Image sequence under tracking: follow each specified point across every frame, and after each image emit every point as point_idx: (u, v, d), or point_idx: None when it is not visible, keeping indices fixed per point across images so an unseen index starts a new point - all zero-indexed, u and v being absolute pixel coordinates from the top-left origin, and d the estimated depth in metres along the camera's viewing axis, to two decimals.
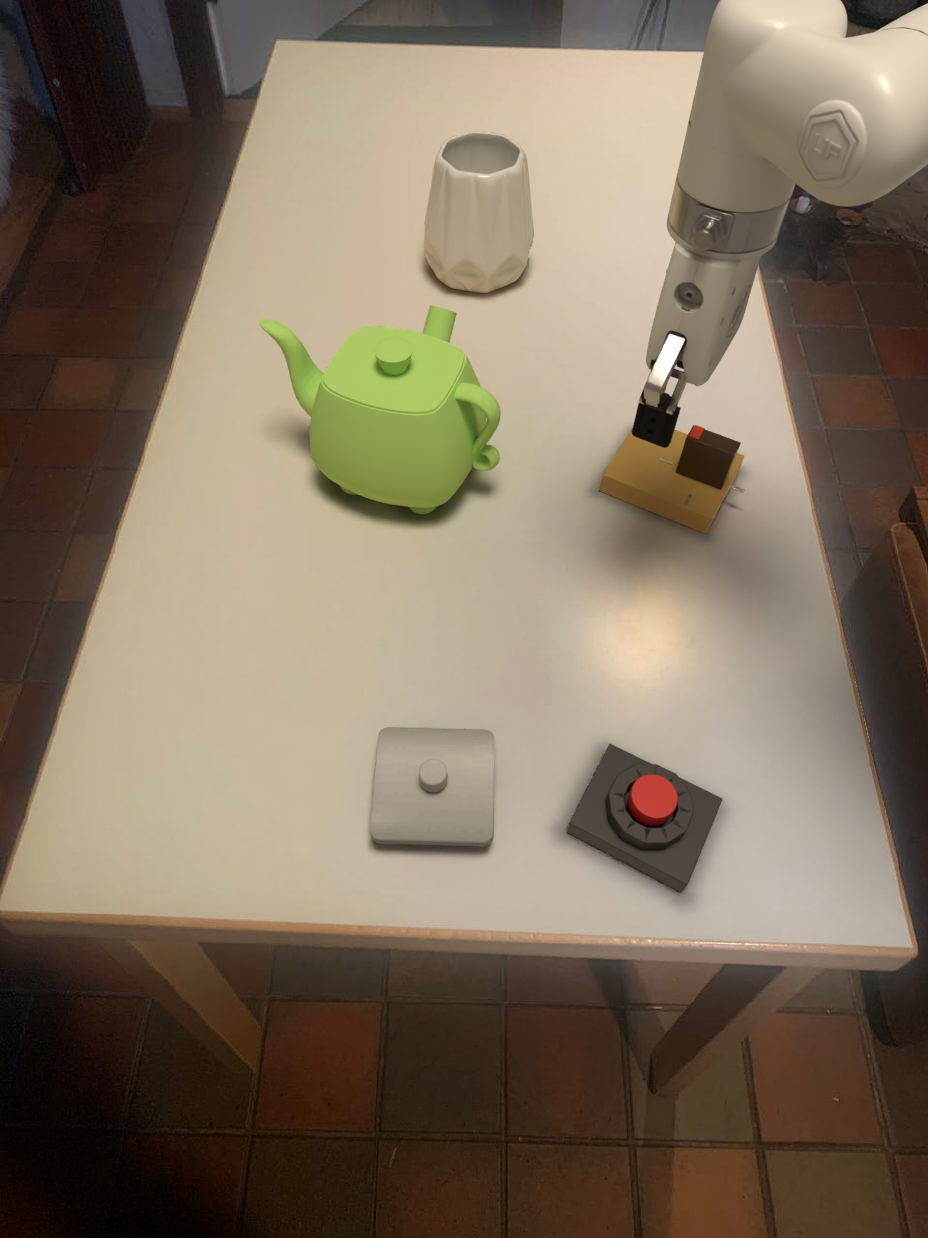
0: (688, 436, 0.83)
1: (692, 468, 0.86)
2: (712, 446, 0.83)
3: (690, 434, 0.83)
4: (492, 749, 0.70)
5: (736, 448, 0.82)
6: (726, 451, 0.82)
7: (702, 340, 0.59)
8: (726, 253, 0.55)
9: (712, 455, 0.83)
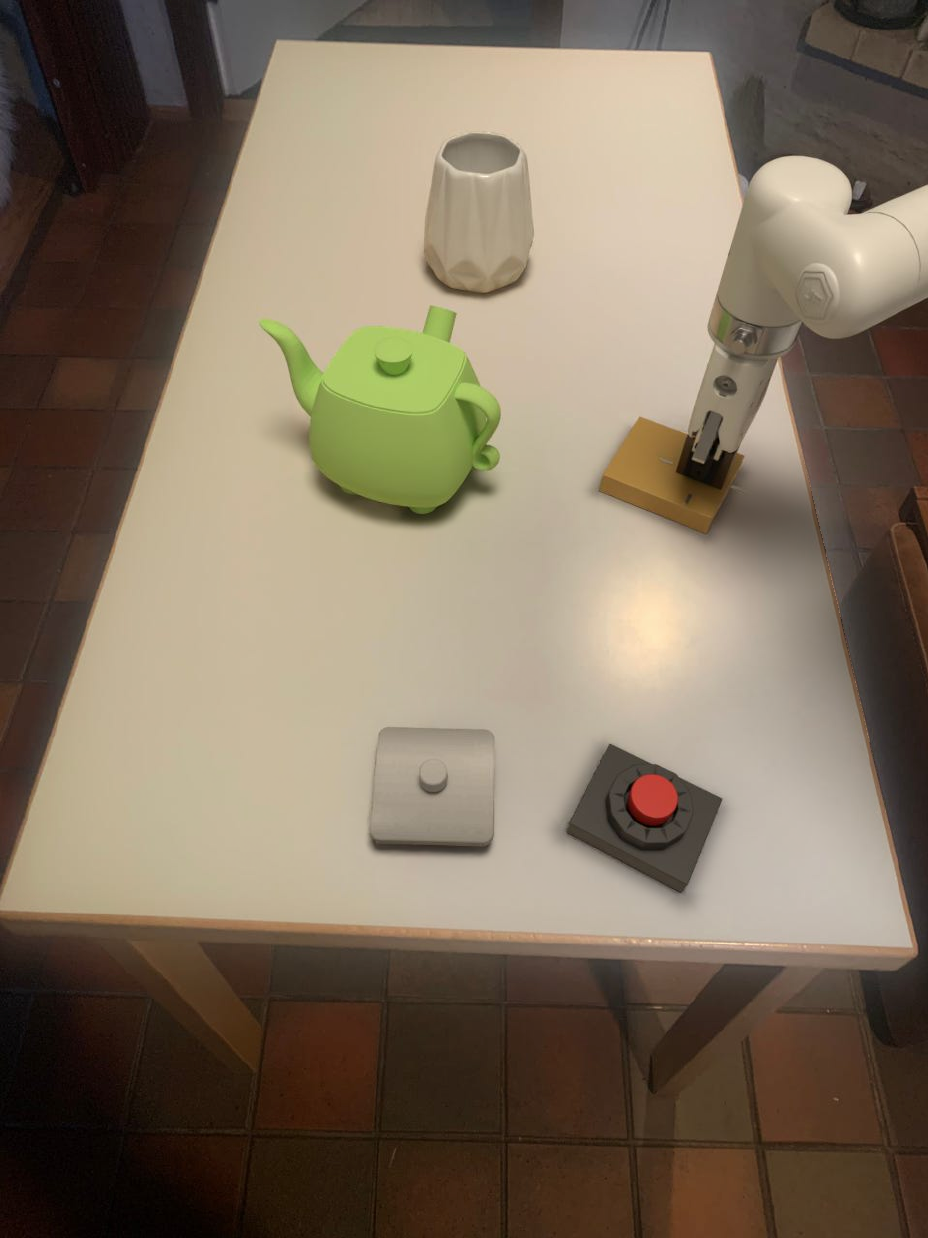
0: (688, 436, 0.83)
1: None
2: None
3: None
4: (492, 749, 0.70)
5: None
6: (726, 451, 0.82)
7: (735, 418, 0.74)
8: (756, 355, 0.70)
9: None
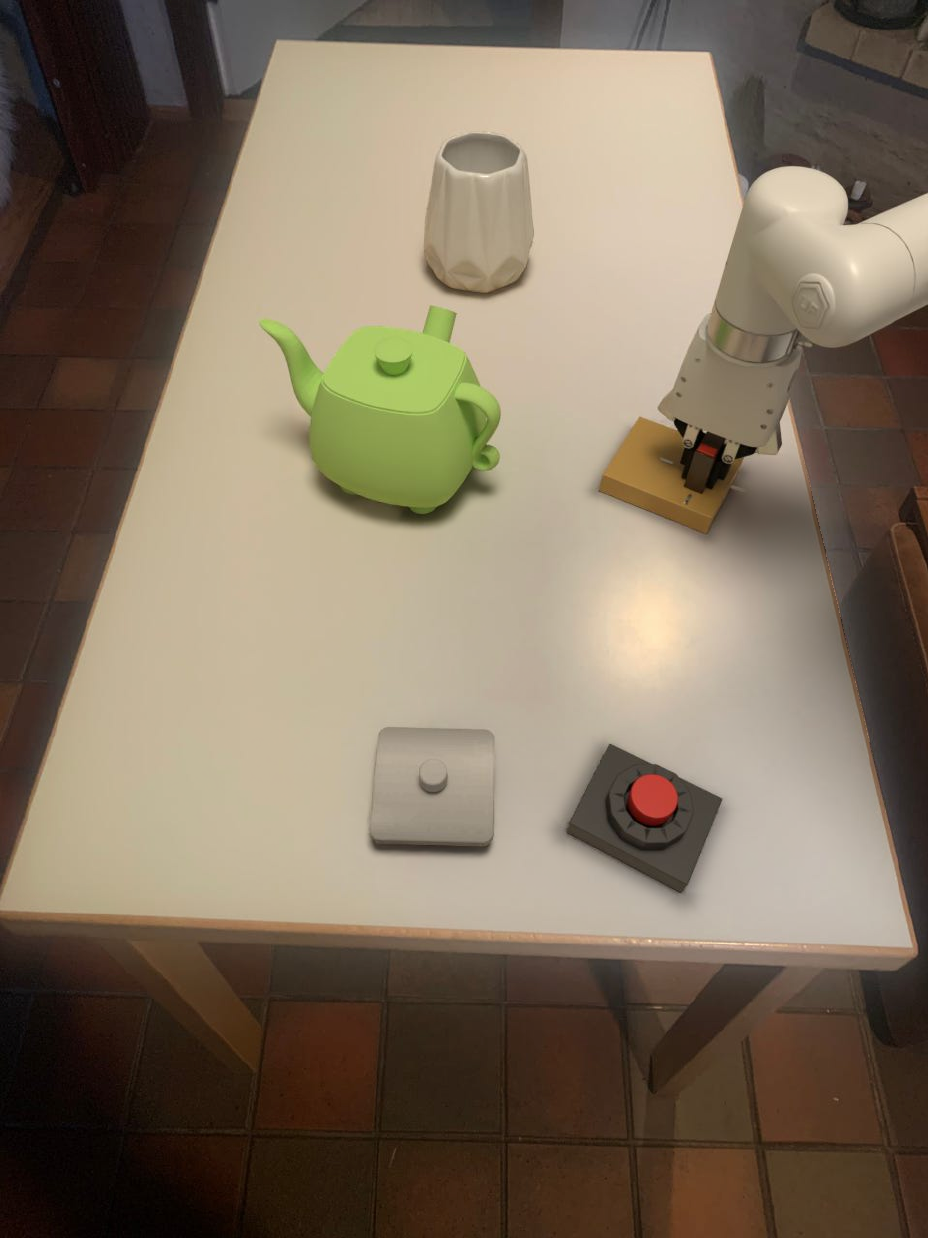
0: (713, 457, 0.82)
1: None
2: (722, 441, 0.83)
3: (712, 454, 0.82)
4: (492, 749, 0.70)
5: None
6: None
7: None
8: None
9: (722, 447, 0.84)
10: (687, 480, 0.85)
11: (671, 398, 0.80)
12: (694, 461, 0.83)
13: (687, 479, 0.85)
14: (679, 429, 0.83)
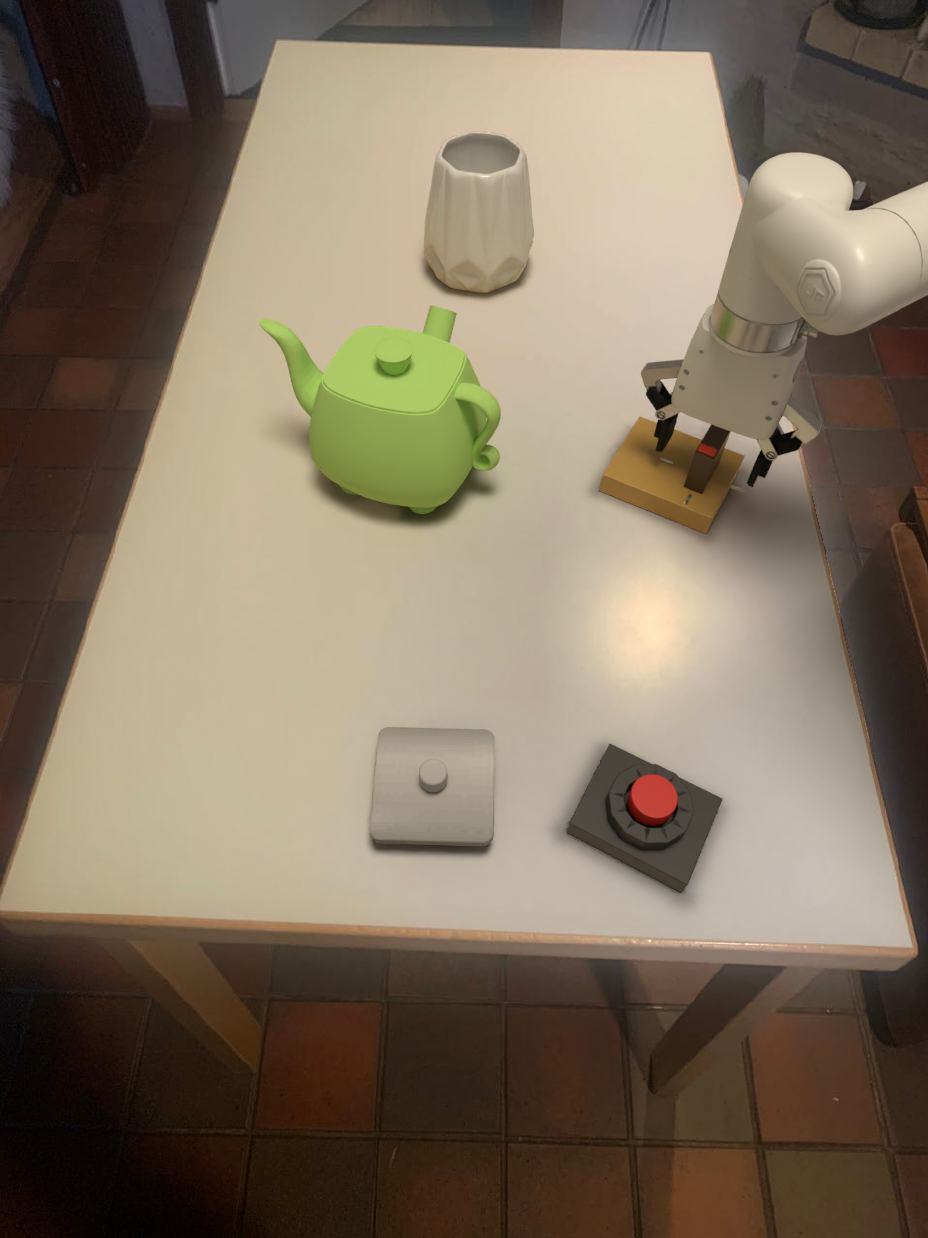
0: (713, 457, 0.82)
1: (710, 475, 0.85)
2: (722, 441, 0.83)
3: (712, 454, 0.82)
4: (492, 749, 0.70)
5: None
6: (728, 432, 0.84)
7: None
8: None
9: (722, 447, 0.84)
10: (687, 480, 0.85)
11: (674, 391, 0.79)
12: (694, 461, 0.83)
13: (687, 479, 0.85)
14: (652, 401, 0.82)
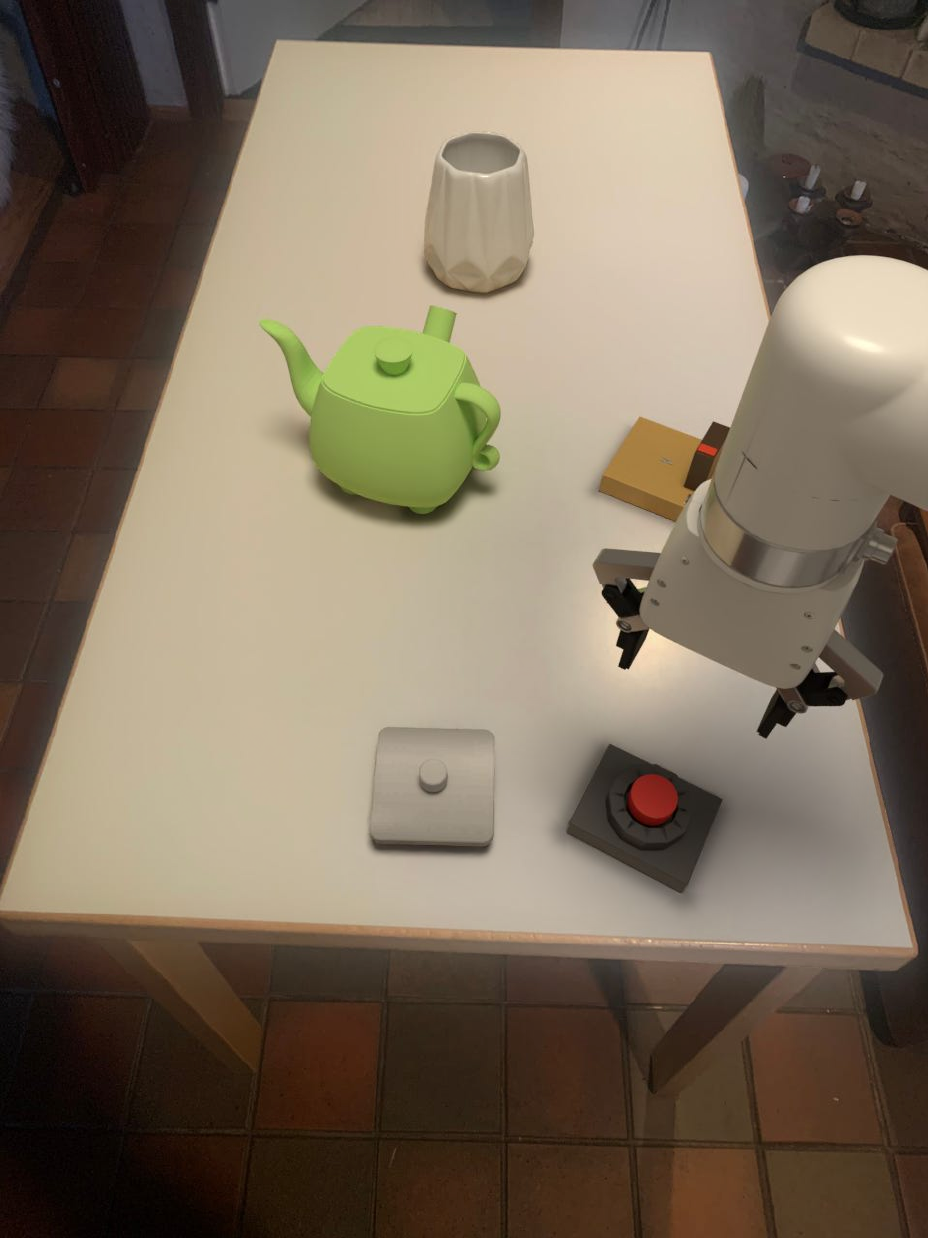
0: (713, 457, 0.82)
1: (710, 475, 0.85)
2: (722, 441, 0.83)
3: (712, 454, 0.82)
4: (492, 749, 0.70)
5: (722, 425, 0.84)
6: (728, 432, 0.84)
7: None
8: None
9: (722, 447, 0.84)
10: (687, 480, 0.85)
11: (643, 603, 0.49)
12: (694, 461, 0.83)
13: (687, 479, 0.85)
14: (611, 603, 0.53)
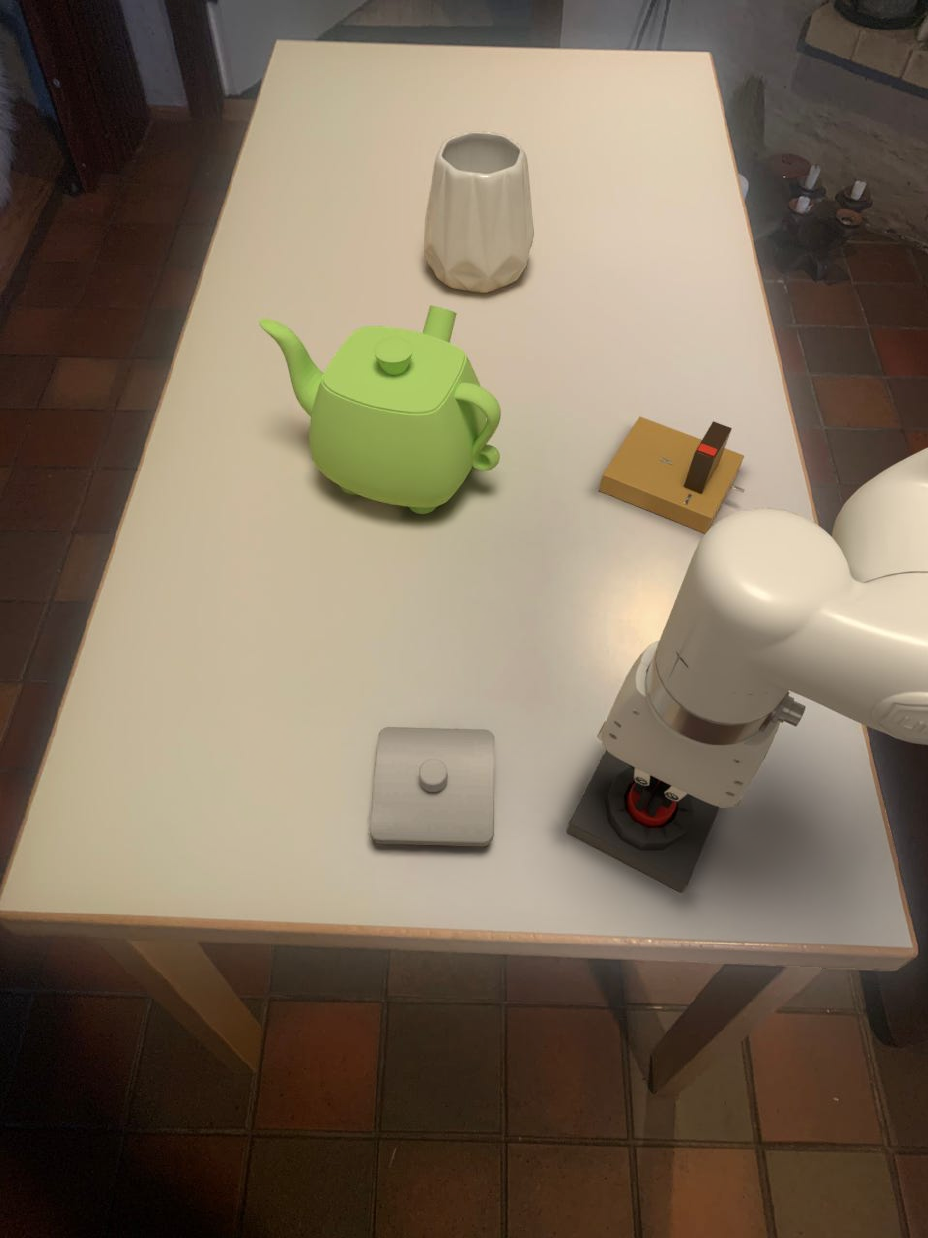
0: (713, 457, 0.82)
1: (710, 475, 0.85)
2: (722, 441, 0.83)
3: (712, 454, 0.82)
4: (492, 749, 0.70)
5: (722, 425, 0.84)
6: (728, 432, 0.84)
7: None
8: None
9: (722, 447, 0.84)
10: (687, 480, 0.85)
11: (603, 735, 0.58)
12: (694, 461, 0.83)
13: (687, 479, 0.85)
14: None
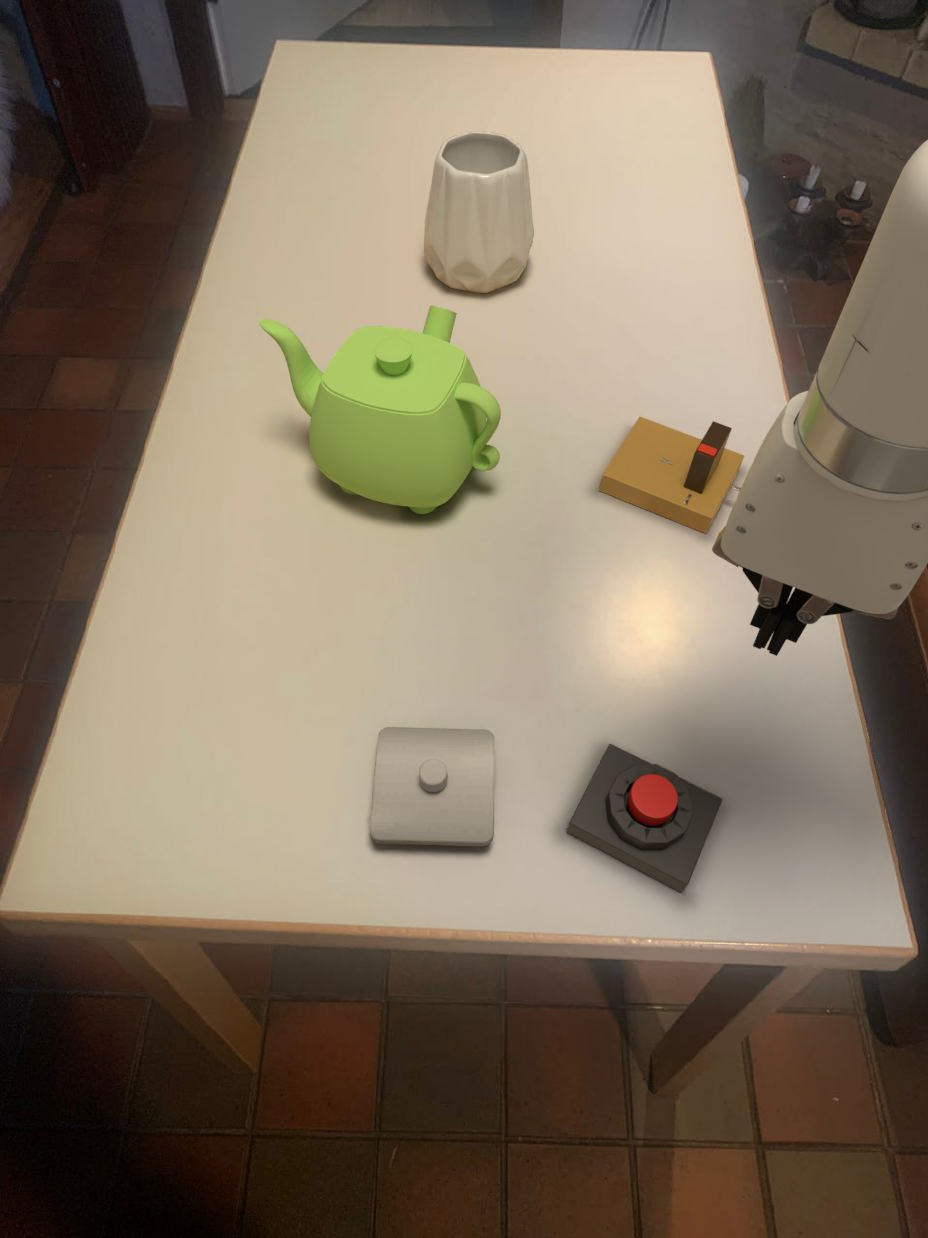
0: (713, 457, 0.82)
1: (710, 475, 0.85)
2: (722, 441, 0.83)
3: (712, 454, 0.82)
4: (492, 749, 0.70)
5: (722, 425, 0.84)
6: (728, 432, 0.84)
7: None
8: None
9: (722, 447, 0.84)
10: (687, 480, 0.85)
11: (727, 533, 0.47)
12: (694, 461, 0.83)
13: (687, 479, 0.85)
14: (752, 579, 0.50)
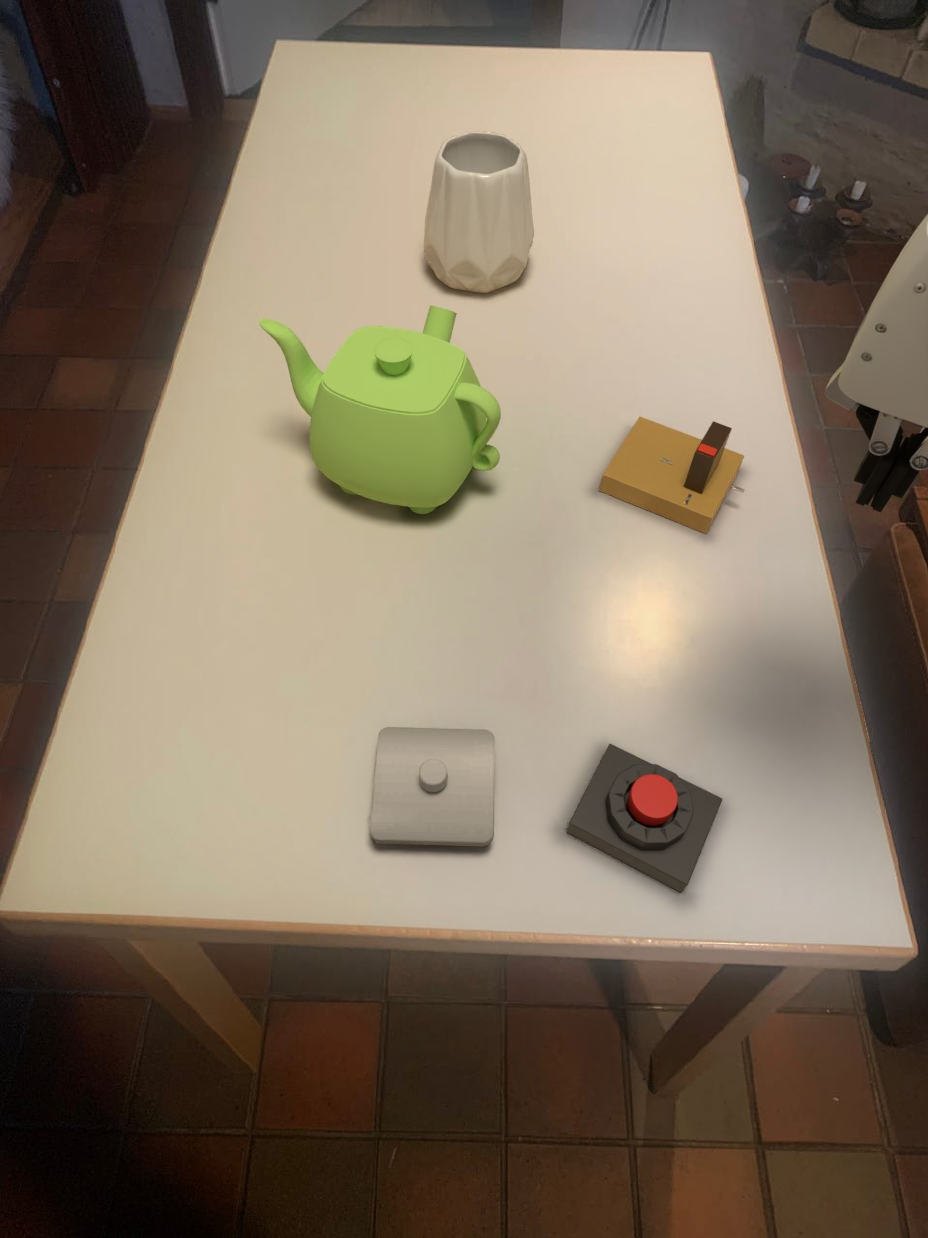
0: (713, 457, 0.82)
1: (710, 475, 0.85)
2: (722, 441, 0.83)
3: (712, 454, 0.82)
4: (492, 749, 0.70)
5: (722, 425, 0.84)
6: (728, 432, 0.84)
7: None
8: None
9: (722, 447, 0.84)
10: (687, 480, 0.85)
11: (848, 364, 0.46)
12: (694, 461, 0.83)
13: (687, 479, 0.85)
14: (864, 424, 0.49)
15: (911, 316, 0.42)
